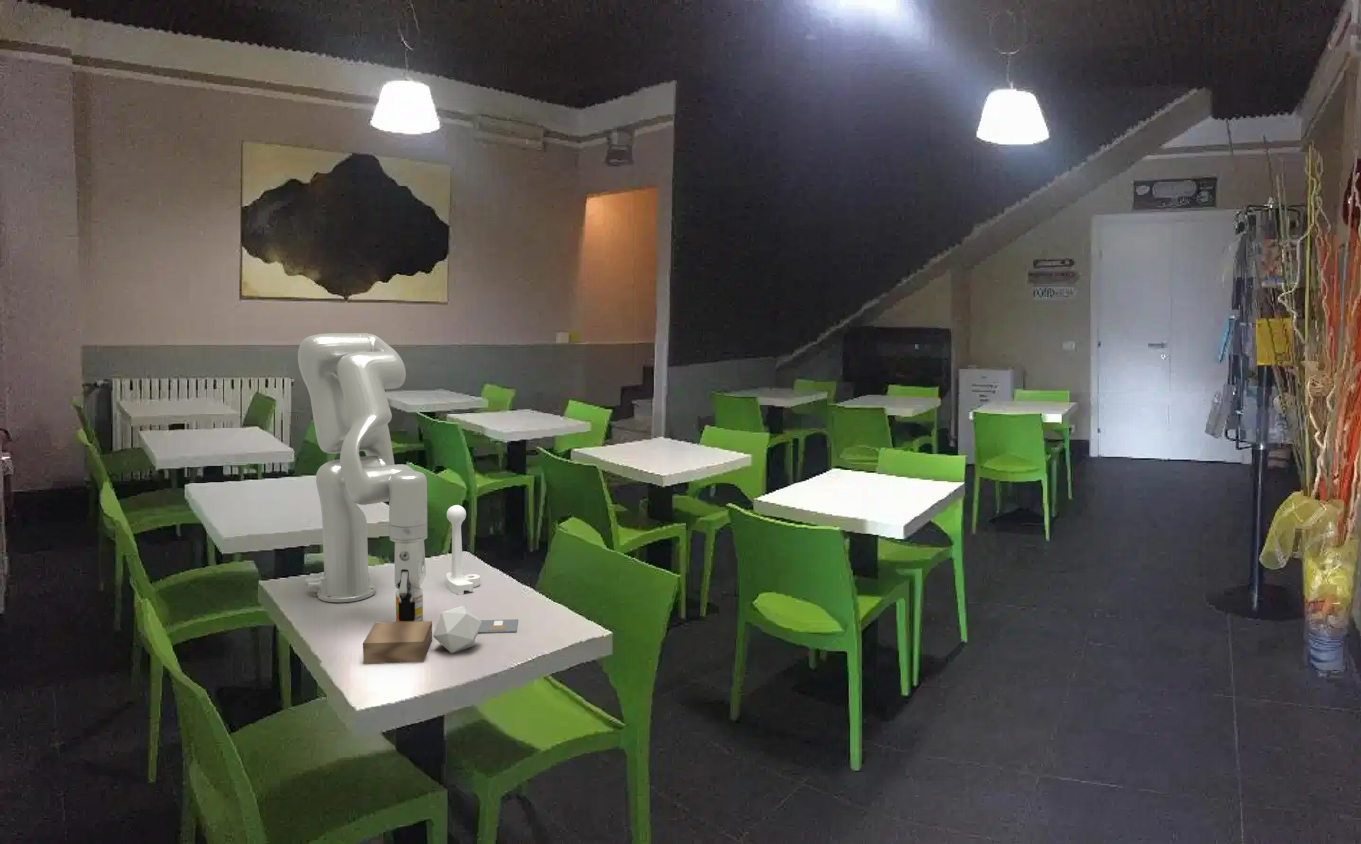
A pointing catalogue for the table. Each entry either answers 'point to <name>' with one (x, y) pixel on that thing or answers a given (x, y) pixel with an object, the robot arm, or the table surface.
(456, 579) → the joystick
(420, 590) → the supplement bottle
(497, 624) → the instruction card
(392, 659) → the base block
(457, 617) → the die
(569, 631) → the table surface
